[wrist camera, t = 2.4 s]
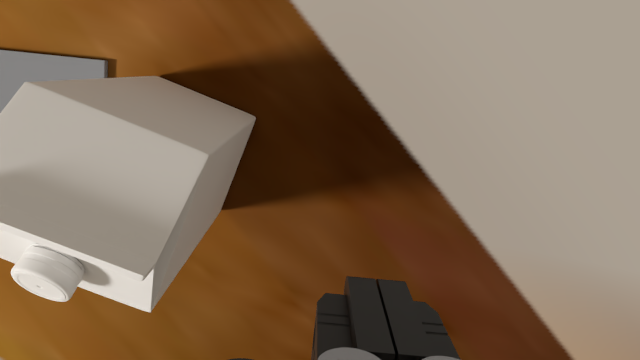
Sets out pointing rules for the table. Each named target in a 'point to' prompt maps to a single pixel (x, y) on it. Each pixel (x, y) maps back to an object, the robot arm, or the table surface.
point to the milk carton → (112, 183)
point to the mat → (43, 70)
